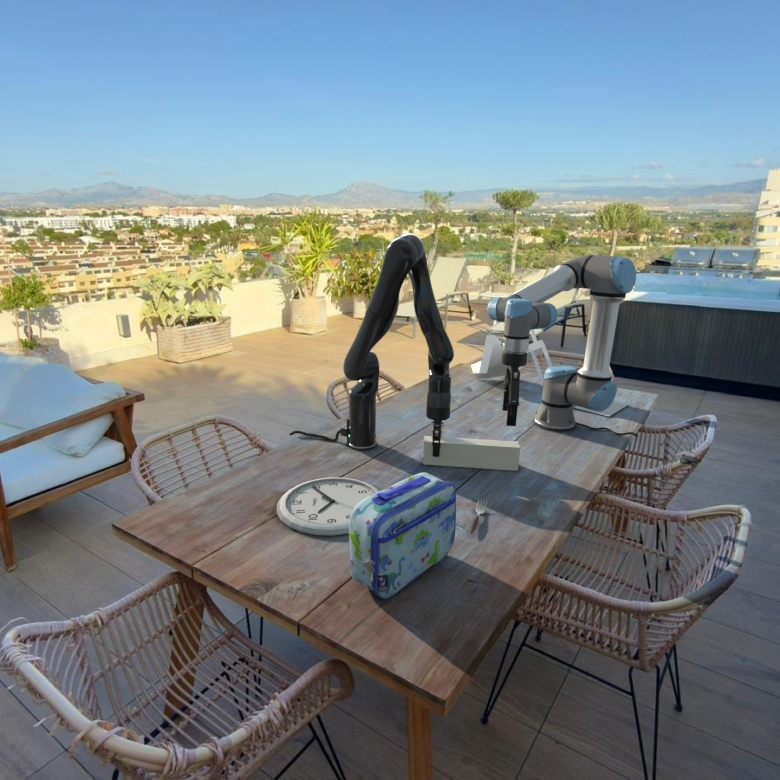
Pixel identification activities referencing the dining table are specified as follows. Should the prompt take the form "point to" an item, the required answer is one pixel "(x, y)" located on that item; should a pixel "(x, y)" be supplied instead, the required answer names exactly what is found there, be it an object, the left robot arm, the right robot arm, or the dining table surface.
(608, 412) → the invitation card
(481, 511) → the fork
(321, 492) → the wall clock
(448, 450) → the beam
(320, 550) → the dining table surface
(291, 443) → the dining table surface
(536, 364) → the white plastic object
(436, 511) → the lunch box
